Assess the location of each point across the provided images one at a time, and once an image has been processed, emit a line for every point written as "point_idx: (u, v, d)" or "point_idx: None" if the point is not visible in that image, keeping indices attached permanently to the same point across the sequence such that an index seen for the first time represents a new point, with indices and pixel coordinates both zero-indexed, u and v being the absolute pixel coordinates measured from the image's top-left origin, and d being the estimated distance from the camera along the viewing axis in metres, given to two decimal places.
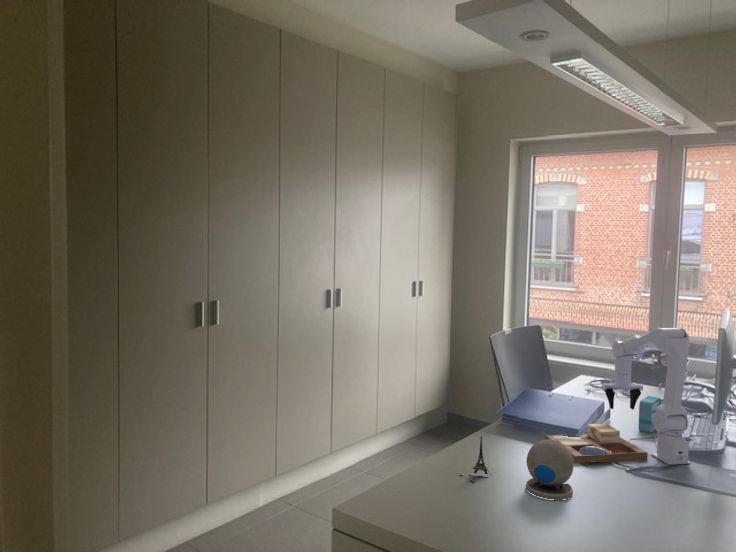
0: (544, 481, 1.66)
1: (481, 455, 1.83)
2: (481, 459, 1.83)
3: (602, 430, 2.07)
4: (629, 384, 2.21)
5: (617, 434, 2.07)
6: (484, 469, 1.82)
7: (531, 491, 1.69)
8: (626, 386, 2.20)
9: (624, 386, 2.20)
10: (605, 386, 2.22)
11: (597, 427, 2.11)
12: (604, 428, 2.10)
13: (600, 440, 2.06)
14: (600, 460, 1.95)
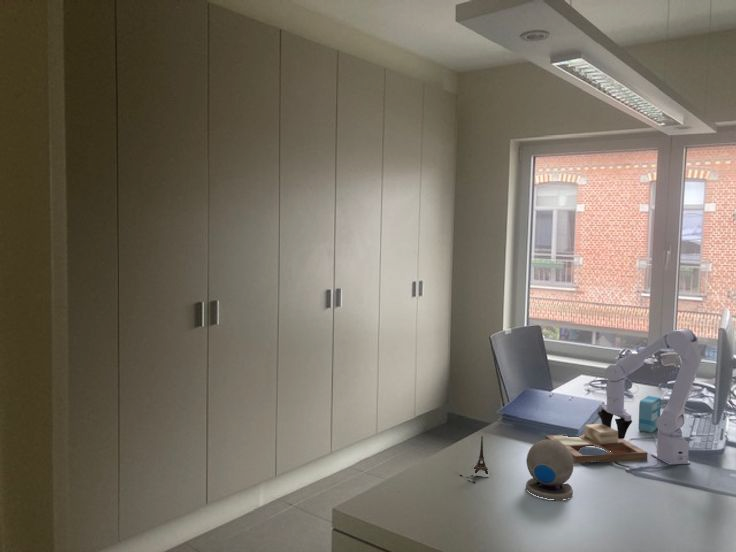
0: (544, 481, 1.66)
1: (482, 455, 1.83)
2: (482, 459, 1.83)
3: (601, 431, 2.07)
4: (612, 409, 2.09)
5: (616, 434, 2.07)
6: (485, 469, 1.82)
7: (531, 491, 1.69)
8: (608, 410, 2.10)
9: (607, 409, 2.11)
10: (600, 406, 2.17)
11: (595, 428, 2.10)
12: (602, 428, 2.10)
13: (599, 441, 2.06)
14: (600, 460, 1.95)
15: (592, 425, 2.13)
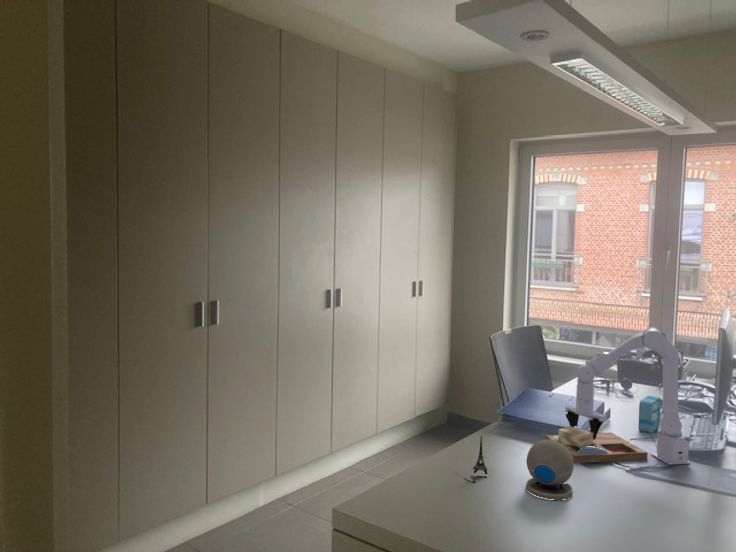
0: (544, 481, 1.66)
1: (481, 455, 1.83)
2: (481, 459, 1.83)
3: (579, 434, 2.02)
4: (585, 411, 2.06)
5: (591, 436, 2.04)
6: (484, 469, 1.82)
7: (531, 491, 1.69)
8: (580, 412, 2.07)
9: (578, 412, 2.08)
10: (566, 408, 2.14)
11: (571, 432, 2.05)
12: (577, 431, 2.05)
13: (579, 445, 2.01)
14: (600, 460, 1.95)
15: (565, 429, 2.08)
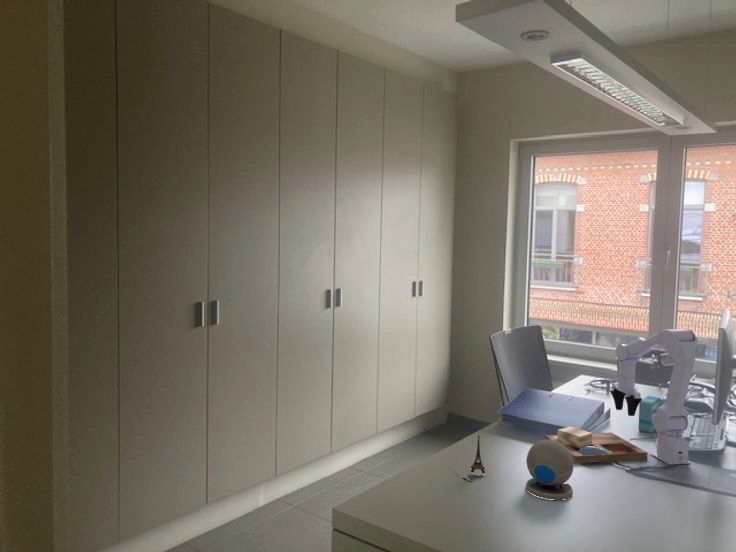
0: (544, 481, 1.66)
1: (478, 454, 1.84)
2: (478, 458, 1.84)
3: (578, 434, 2.02)
4: (623, 387, 2.17)
5: (591, 436, 2.04)
6: (481, 468, 1.83)
7: (531, 491, 1.69)
8: (619, 388, 2.18)
9: (618, 388, 2.19)
10: (613, 385, 2.26)
11: (570, 432, 2.05)
12: (576, 432, 2.05)
13: (578, 445, 2.01)
14: (600, 460, 1.95)
15: (564, 429, 2.08)
